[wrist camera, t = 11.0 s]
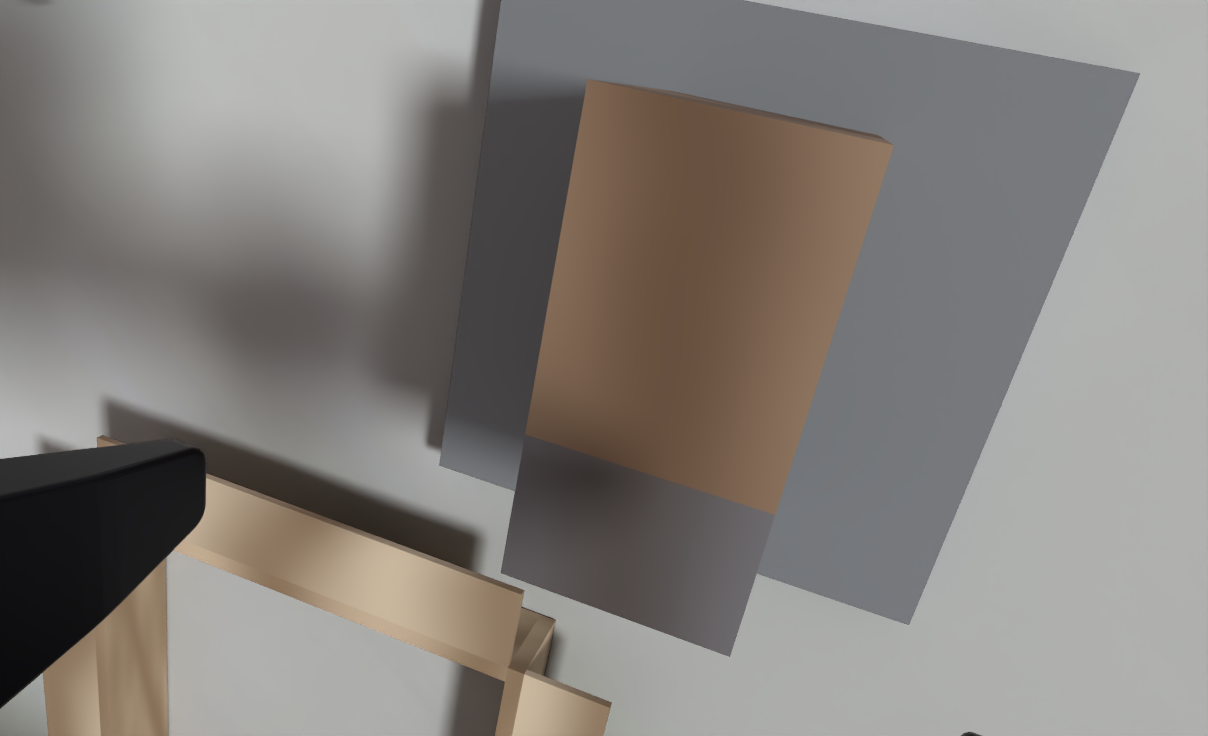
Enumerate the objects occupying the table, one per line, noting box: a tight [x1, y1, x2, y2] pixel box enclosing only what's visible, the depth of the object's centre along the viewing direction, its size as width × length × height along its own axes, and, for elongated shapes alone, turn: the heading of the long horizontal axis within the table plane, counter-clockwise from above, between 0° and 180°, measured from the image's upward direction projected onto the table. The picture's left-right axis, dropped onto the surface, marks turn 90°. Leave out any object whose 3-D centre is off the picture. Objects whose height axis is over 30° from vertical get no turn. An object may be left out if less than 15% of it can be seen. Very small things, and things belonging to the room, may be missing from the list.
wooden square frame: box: [43, 435, 612, 736], centre depth 26 cm, size 20×19×2 cm
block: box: [501, 79, 894, 657], centre depth 15 cm, size 4×9×6 cm, turn 169°
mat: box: [439, 0, 1140, 625], centre depth 19 cm, size 13×13×1 cm
